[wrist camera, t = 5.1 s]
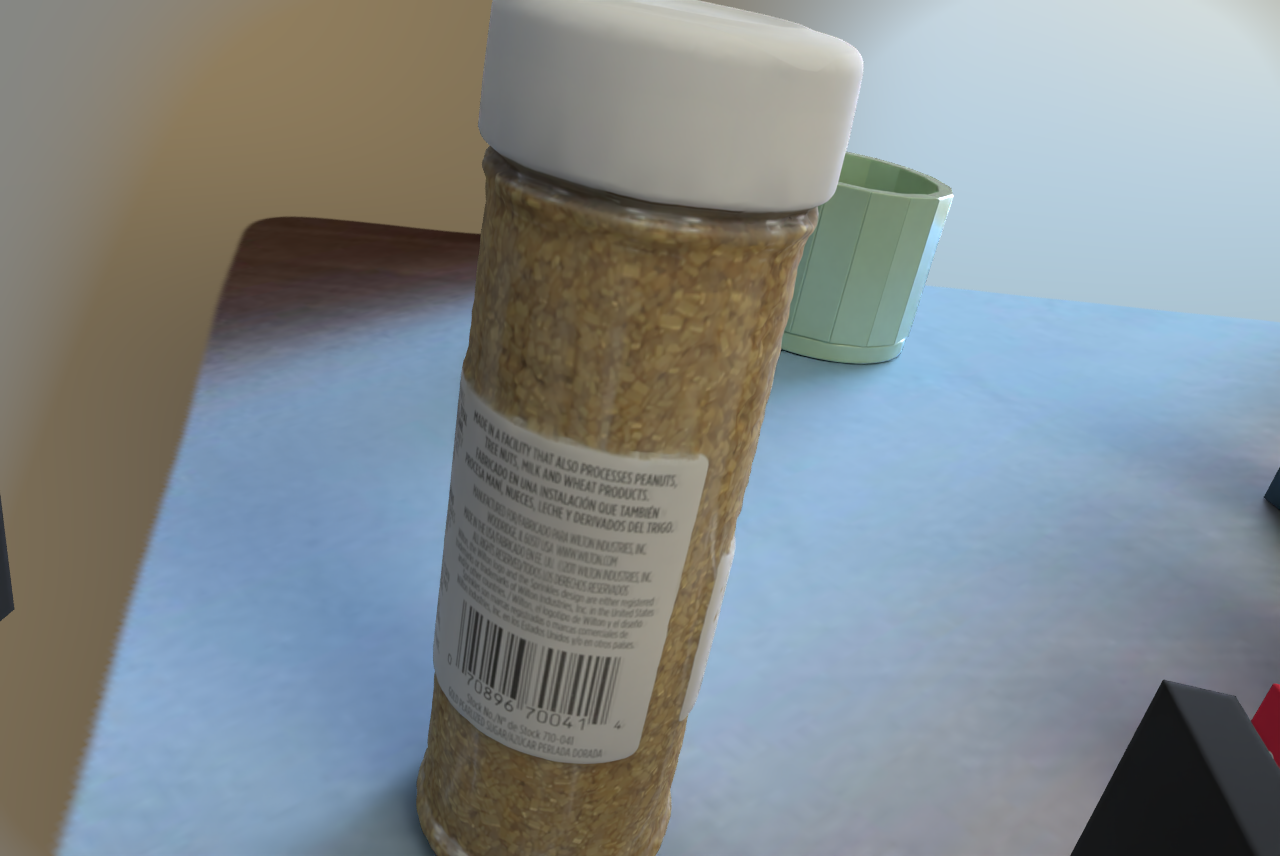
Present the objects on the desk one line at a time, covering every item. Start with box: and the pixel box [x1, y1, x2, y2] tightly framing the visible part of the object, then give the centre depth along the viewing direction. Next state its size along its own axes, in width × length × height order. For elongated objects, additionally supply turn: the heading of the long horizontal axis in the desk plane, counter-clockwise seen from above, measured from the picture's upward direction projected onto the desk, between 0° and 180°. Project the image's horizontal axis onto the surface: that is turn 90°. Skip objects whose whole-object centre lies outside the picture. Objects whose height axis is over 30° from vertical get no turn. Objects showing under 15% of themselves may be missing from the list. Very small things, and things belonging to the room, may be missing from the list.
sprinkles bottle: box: [416, 0, 863, 856], centre depth 15 cm, size 5×5×14 cm
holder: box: [781, 152, 953, 364], centre depth 43 cm, size 8×8×7 cm
